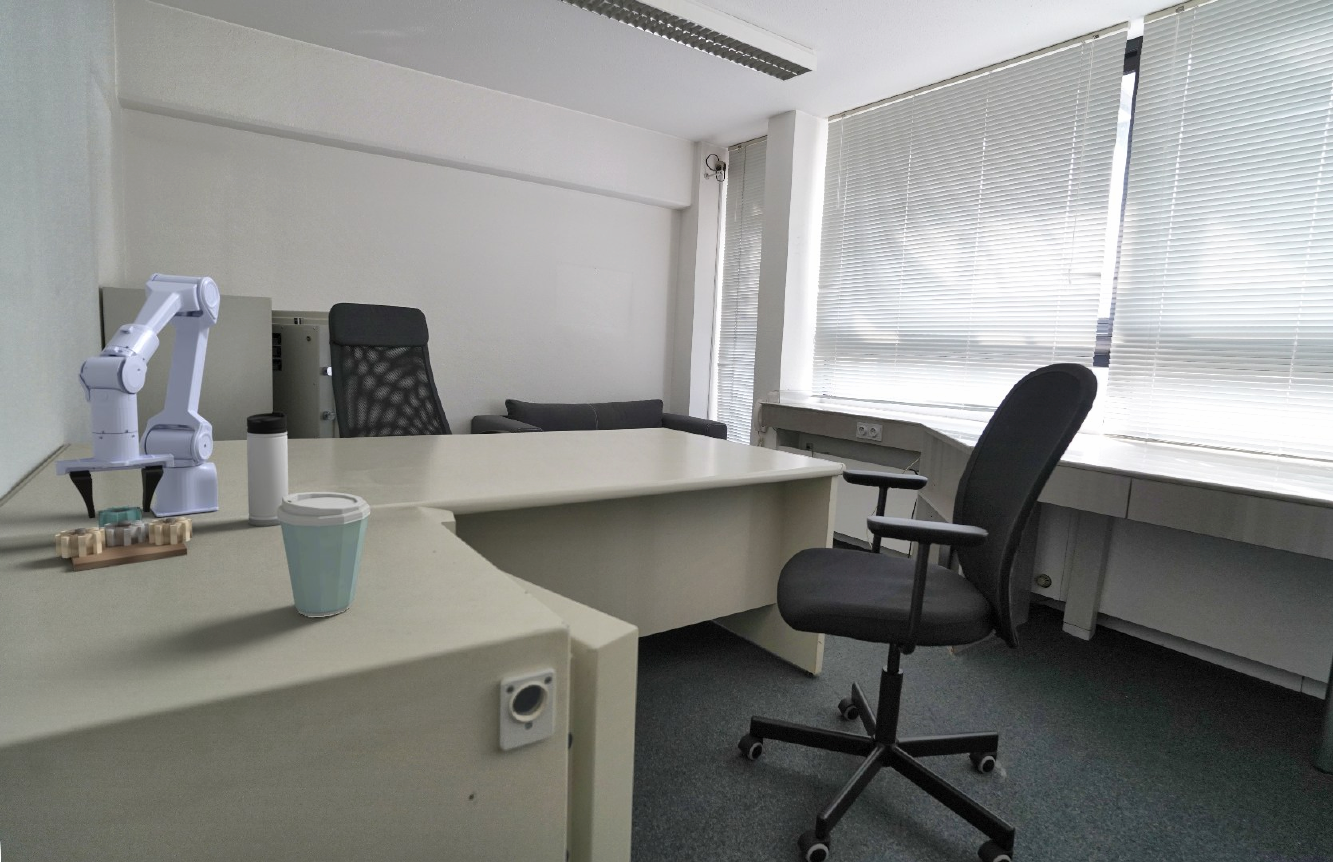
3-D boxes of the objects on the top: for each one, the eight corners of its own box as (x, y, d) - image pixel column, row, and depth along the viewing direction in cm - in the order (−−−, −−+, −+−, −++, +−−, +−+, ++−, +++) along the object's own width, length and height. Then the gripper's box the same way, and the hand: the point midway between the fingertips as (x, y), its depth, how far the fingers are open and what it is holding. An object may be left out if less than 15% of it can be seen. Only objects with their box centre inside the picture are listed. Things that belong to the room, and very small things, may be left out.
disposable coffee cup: (347, 587, 93) (347, 483, 91) (386, 610, 86) (386, 498, 84) (264, 607, 85) (262, 493, 83) (300, 634, 78) (298, 511, 76)
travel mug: (297, 518, 124) (295, 412, 122) (273, 527, 118) (271, 416, 115) (266, 515, 125) (264, 410, 122) (240, 524, 118) (237, 414, 116)
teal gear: (139, 524, 112) (138, 504, 111) (144, 532, 108) (143, 511, 108) (98, 529, 108) (97, 508, 108) (101, 537, 104) (100, 516, 104)
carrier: (178, 525, 116) (177, 500, 115) (199, 552, 103) (198, 524, 103) (52, 541, 104) (51, 513, 104) (59, 573, 92) (57, 542, 91)
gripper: (55, 437, 98) (60, 526, 100) (175, 432, 108) (178, 513, 110) (52, 431, 103) (58, 515, 105) (168, 426, 113) (171, 504, 115)
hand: (119, 513), depth 108 cm, fingers open, 6 cm apart
